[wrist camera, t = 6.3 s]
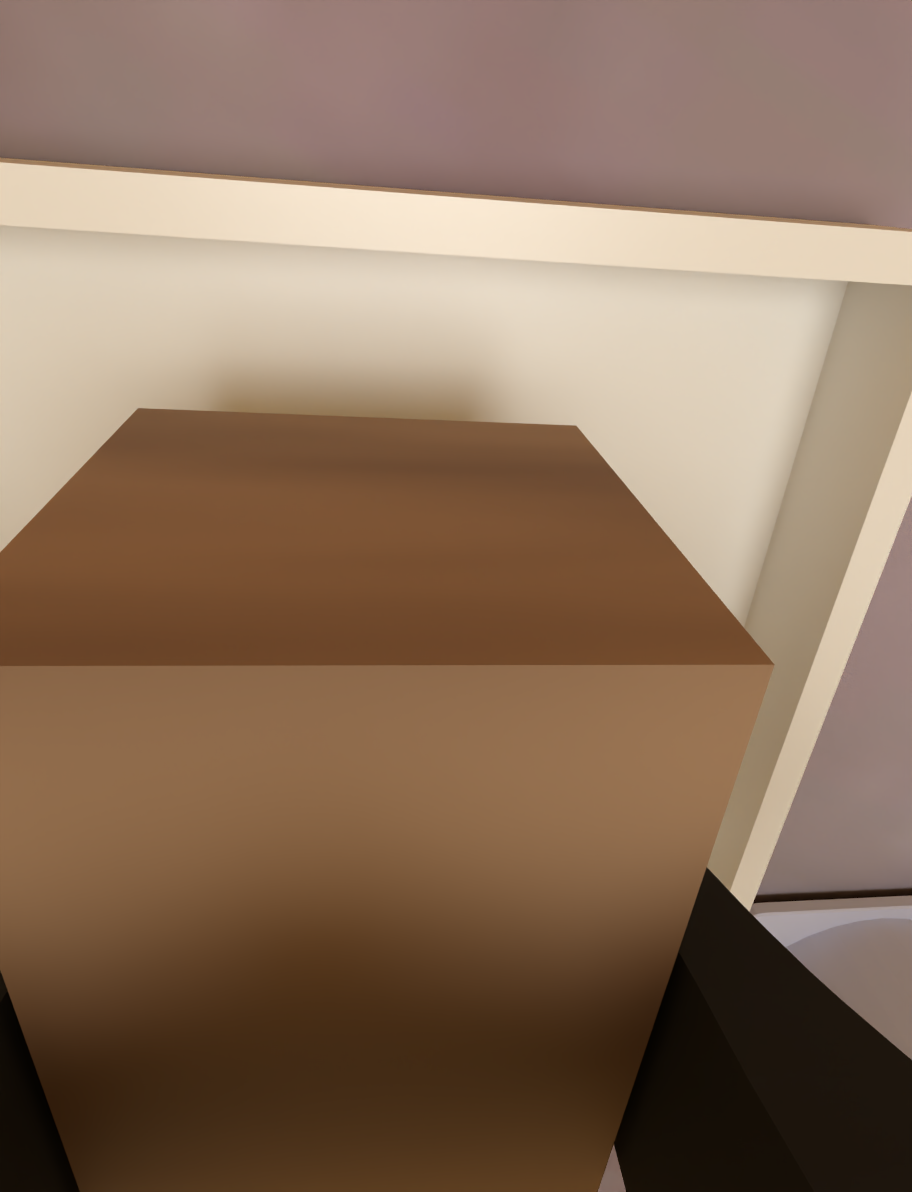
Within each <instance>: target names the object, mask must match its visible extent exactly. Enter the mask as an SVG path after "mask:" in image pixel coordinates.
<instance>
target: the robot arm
mask: <svg viewBox="0 0 912 1192" xmlns="http://www.w3.org/2000/svg"><path fill="white" fill-rule="evenodd" d="M614 1146H615V1150H616V1153H617V1157H618V1161H619V1165H620V1169H621V1173H622V1177H623V1181H624V1184H625V1189H626V1192H912V895H909V896H889V897H868V898H847V899H826V900H806V901H785V902H764V903H754V904H752V907H751V909H750V912H749V911H748V910H747V909H746V908H745V907H744V906H743V905H742V904H741V903H740V902H739V900H738V899H737V898H736V897H735V896H734V895H733V894H732V893H731V892H730V891H729V890H728V889H727V888H726V887H725V886H724V885H723V884H722V882H721V881H720V880H719V879H718V878H717V877H716V876H715V875H714V874H713V873H712V872H711V871H710V870H709V869H708V868H707V867H706V870H705V873H704V876H703V879H702V882H701V885H700V888H699V891H698V894H697V897H696V900H695V903H694V906H693V909H692V912H691V915H690V918H689V921H688V924H687V927H686V930H685V933H684V936H683V939H682V942H681V945H680V948H679V951H678V954H677V957H676V960H675V963H674V966H673V969H672V972H671V975H670V978H669V981H668V984H667V986H666V989H665V992H664V995H663V998H662V1001H661V1004H660V1007H659V1010H658V1013H657V1016H656V1019H655V1022H654V1025H653V1028H652V1031H651V1034H650V1037H649V1040H648V1043H647V1046H646V1049H645V1052H644V1055H643V1058H642V1061H641V1064H640V1067H639V1070H638V1073H637V1076H636V1079H635V1082H634V1085H633V1088H632V1091H631V1094H630V1097H629V1100H628V1103H627V1106H626V1108H625V1111H624V1114H623V1117H622V1120H621V1123H620V1126H619V1129H618V1132H617V1135H616V1138H615V1141H614ZM0 1192H80V1191H79V1188H78V1185H77V1182H76V1179H75V1177H74V1174H73V1171H72V1168H71V1166H70V1163H69V1160H68V1157H67V1154H66V1152H65V1149H64V1146H63V1143H62V1140H61V1138H60V1135H59V1132H58V1129H57V1127H56V1124H55V1121H54V1118H53V1115H52V1113H51V1110H50V1107H49V1104H48V1102H47V1099H46V1096H45V1093H44V1090H43V1088H42V1085H41V1082H40V1079H39V1076H38V1074H37V1071H36V1068H35V1065H34V1063H33V1060H32V1057H31V1054H30V1051H29V1049H28V1046H27V1043H26V1040H25V1037H24V1035H23V1032H22V1029H21V1026H20V1024H19V1021H18V1018H17V1015H16V1012H15V1010H14V1007H13V1004H12V1001H11V998H10V996H9V993H8V990H7V987H6V985H5V982H4V979H3V976H2V973H1V971H0Z"/></svg>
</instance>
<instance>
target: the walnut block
mask: <svg viewBox="0 0 912 1192" xmlns="http://www.w3.org/2000/svg"><path fill="white" fill-rule="evenodd" d="M774 665H775V664H774V663H773V662H772V661H771V660H770V658H769V657H768V656H767V655H766V654H765V652H764V651H763V650H762V649H761V648H760V646H759V645H758V644H757V643H756V642H755V640H754V639H753V638H752V637H751V636H750V634H749V633H748V632H747V631H746V630H745V628H744V627H743V626H742V625H741V624H740V622H739V621H738V620H737V619H736V617H735V616H734V615H733V614H732V613H731V611H730V610H729V609H728V608H727V607H726V605H725V604H724V603H723V602H722V601H721V599H720V598H719V597H718V596H717V595H716V593H715V592H714V591H713V590H712V589H711V587H710V586H709V585H708V584H707V583H706V581H705V580H704V579H703V578H702V576H701V575H700V574H699V573H698V572H697V570H696V569H695V568H694V567H693V566H692V564H691V563H690V562H689V561H688V560H687V558H686V557H685V556H684V555H683V554H682V552H681V551H680V550H679V549H678V548H677V546H676V545H675V544H674V543H673V542H672V540H671V539H670V538H669V537H668V536H667V534H666V533H665V532H664V531H663V529H662V528H661V527H660V526H659V525H658V523H657V522H656V521H655V520H654V519H653V517H652V516H651V515H650V514H649V513H648V511H647V510H646V509H645V508H644V507H643V505H642V504H641V503H640V502H639V501H638V499H637V498H636V497H635V496H634V495H633V493H632V492H631V491H630V490H629V488H628V487H627V486H626V485H625V484H624V482H623V481H622V480H621V479H620V478H619V476H618V475H617V474H616V473H615V472H614V470H613V469H612V468H611V467H610V466H609V464H608V463H607V462H606V461H605V460H604V458H603V457H602V456H601V455H600V454H599V452H598V451H597V450H596V449H595V448H594V446H593V445H592V444H591V443H590V441H589V440H588V439H587V438H586V437H585V435H584V434H583V433H582V432H581V431H580V429H579V428H578V427H577V426H576V425H551V424H526V423H500V422H475V421H450V420H425V419H400V418H375V417H350V416H325V415H299V414H274V413H249V412H224V411H199V410H174V409H149V408H138V409H137V410H136V411H135V412H134V413H133V414H132V415H131V416H130V417H129V418H128V419H127V420H126V421H125V422H124V423H123V424H122V425H121V426H120V427H119V429H118V430H117V431H116V432H115V433H114V434H113V435H112V436H111V437H110V438H109V439H108V440H107V441H106V442H105V443H104V444H103V445H102V446H101V447H100V448H99V449H98V450H97V452H96V453H95V454H94V455H93V456H92V457H91V458H90V459H89V460H88V461H87V462H86V463H85V464H84V465H83V466H82V467H81V468H80V469H79V470H78V471H77V472H76V473H75V475H74V476H73V477H72V478H71V479H70V480H69V481H68V482H67V483H66V484H65V485H64V486H63V487H62V488H61V489H60V490H59V491H58V492H57V493H56V494H55V495H54V497H53V498H52V499H51V500H50V501H49V502H48V503H47V504H46V505H45V506H44V507H43V508H42V509H41V510H40V511H39V512H38V513H37V514H36V515H35V516H34V517H33V518H32V520H31V521H30V522H29V523H28V524H27V525H26V526H25V527H24V528H23V529H22V530H21V531H20V532H19V533H18V534H17V535H16V536H15V537H14V538H13V539H12V540H11V541H10V543H9V544H8V545H7V546H6V547H5V548H4V549H3V550H2V551H1V552H0V971H1V973H2V976H3V979H4V982H5V985H6V987H7V990H8V993H9V996H10V998H11V1001H12V1004H13V1007H14V1010H15V1012H16V1015H17V1018H18V1021H19V1024H20V1026H21V1029H22V1032H23V1035H24V1037H25V1040H26V1043H27V1046H28V1049H29V1051H30V1054H31V1057H32V1060H33V1063H34V1065H35V1068H36V1071H37V1074H38V1076H39V1079H40V1082H41V1085H42V1088H43V1090H44V1093H45V1096H46V1099H47V1102H48V1104H49V1107H50V1110H51V1113H52V1115H53V1118H54V1121H55V1124H56V1127H57V1129H58V1132H59V1135H60V1138H61V1140H62V1143H63V1146H64V1149H65V1152H66V1154H67V1157H68V1160H69V1163H70V1166H71V1168H72V1171H73V1174H74V1177H75V1179H76V1182H77V1185H78V1188H79V1191H80V1192H598V1189H599V1186H600V1183H601V1180H602V1177H603V1174H604V1171H605V1168H606V1165H607V1162H608V1159H609V1156H610V1153H611V1150H612V1147H613V1144H614V1141H615V1138H616V1135H617V1132H618V1129H619V1126H620V1123H621V1120H622V1117H623V1114H624V1111H625V1108H626V1106H627V1103H628V1100H629V1097H630V1094H631V1091H632V1088H633V1085H634V1082H635V1079H636V1076H637V1073H638V1070H639V1067H640V1064H641V1061H642V1058H643V1055H644V1052H645V1049H646V1046H647V1043H648V1040H649V1037H650V1034H651V1031H652V1028H653V1025H654V1022H655V1019H656V1016H657V1013H658V1010H659V1007H660V1004H661V1001H662V998H663V995H664V992H665V989H666V986H667V984H668V981H669V978H670V975H671V972H672V969H673V966H674V963H675V960H676V957H677V954H678V951H679V948H680V945H681V942H682V939H683V936H684V933H685V930H686V927H687V924H688V921H689V918H690V915H691V912H692V909H693V906H694V903H695V900H696V897H697V894H698V891H699V888H700V885H701V882H702V879H703V876H704V873H705V870H706V867H707V865H708V862H709V859H710V856H711V853H712V850H713V847H714V844H715V841H716V838H717V835H718V832H719V829H720V826H721V823H722V820H723V817H724V814H725V811H726V808H727V805H728V802H729V799H730V796H731V793H732V790H733V787H734V784H735V781H736V778H737V775H738V772H739V769H740V766H741V763H742V760H743V757H744V754H745V751H746V748H747V745H748V743H749V740H750V737H751V734H752V731H753V728H754V725H755V722H756V719H757V716H758V713H759V710H760V707H761V704H762V701H763V698H764V695H765V692H766V689H767V686H768V683H769V680H770V677H771V674H772V671H773V668H774Z"/></svg>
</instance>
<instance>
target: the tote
mask: <svg viewBox="0 0 912 1192" xmlns="http://www.w3.org/2000/svg"><path fill="white" fill-rule="evenodd" d="M138 408H149V409H174V410H199V411H224V412H249V413H274V414H299V415H325V416H350V417H375V418H400V419H425V420H450V421H475V422H500V423H526V424H551V425H576V426H577V427H578V428H579V429H580V431H581V432H582V433H583V434H584V435H585V437H586V438H587V439H588V440H589V441H590V443H591V444H592V445H593V446H594V448H595V449H596V450H597V451H598V452H599V454H600V455H601V456H602V457H603V458H604V460H605V461H606V462H607V463H608V464H609V466H610V467H611V468H612V469H613V470H614V472H615V473H616V474H617V475H618V476H619V478H620V479H621V480H622V481H623V482H624V484H625V485H626V486H627V487H628V488H629V490H630V491H631V492H632V493H633V495H634V496H635V497H636V498H637V499H638V501H639V502H640V503H641V504H642V505H643V507H644V508H645V509H646V510H647V511H648V513H649V514H650V515H651V516H652V517H653V519H654V520H655V521H656V522H657V523H658V525H659V526H660V527H661V528H662V529H663V531H664V532H665V533H666V534H667V536H668V537H669V538H670V539H671V540H672V542H673V543H674V544H675V545H676V546H677V548H678V549H679V550H680V551H681V552H682V554H683V555H684V556H685V557H686V558H687V560H688V561H689V562H690V563H691V564H692V566H693V567H694V568H695V569H696V570H697V572H698V573H699V574H700V575H701V576H702V578H703V579H704V580H705V581H706V583H707V584H708V585H709V586H710V587H711V589H712V590H713V591H714V592H715V593H716V595H717V596H718V597H719V598H720V599H721V601H722V602H723V603H724V604H725V605H726V607H727V608H728V609H729V610H730V611H731V613H732V614H733V615H734V616H735V617H736V619H737V620H738V621H739V622H740V624H741V625H742V626H743V627H744V628H745V630H746V631H747V632H748V633H749V634H750V636H751V637H752V638H753V639H754V640H755V642H756V643H757V644H758V645H759V646H760V648H761V649H762V650H763V651H764V652H765V654H766V655H767V656H768V657H769V658H770V660H771V661H772V662H773V663H774V664H775V665H774V668H773V671H772V674H771V677H770V680H769V683H768V686H767V689H766V692H765V695H764V698H763V701H762V704H761V707H760V710H759V713H758V716H757V719H756V722H755V725H754V728H753V731H752V734H751V737H750V740H749V743H748V745H747V748H746V751H745V754H744V757H743V760H742V763H741V766H740V769H739V772H738V775H737V778H736V781H735V784H734V787H733V790H732V793H731V796H730V799H729V802H728V805H727V808H726V811H725V814H724V817H723V820H722V823H721V826H720V829H719V832H718V835H717V838H716V841H715V844H714V847H713V850H712V853H711V856H710V859H709V862H708V865H707V868H708V869H709V870H710V871H711V872H712V873H713V874H714V875H715V876H716V877H717V878H718V879H719V880H720V881H721V882H722V884H723V885H724V886H725V887H726V888H727V889H728V890H729V891H730V892H731V893H732V894H733V895H734V896H735V897H736V898H737V899H738V900H739V902H740V903H741V904H742V905H743V906H744V907H745V908H746V909H747V910H748V911H749V912H750V909H751V907H752V904H753V902H754V899H755V896H756V894H757V891H758V889H759V886H760V884H761V881H762V878H763V876H764V873H765V871H766V868H767V866H768V863H769V860H770V858H771V855H772V853H773V850H774V848H775V845H776V843H777V840H778V837H779V835H780V832H781V830H782V827H783V825H784V822H785V819H786V817H787V814H788V812H789V809H790V807H791V804H792V801H793V799H794V796H795V794H796V791H797V789H798V786H799V783H800V781H801V778H802V776H803V773H804V771H805V768H806V766H807V763H808V760H809V758H810V755H811V753H812V750H813V748H814V745H815V742H816V740H817V737H818V735H819V732H820V730H821V727H822V724H823V722H824V719H825V717H826V714H827V712H828V709H829V707H830V704H831V701H832V699H833V696H834V694H835V691H836V689H837V686H838V683H839V681H840V678H841V676H842V673H843V671H844V668H845V665H846V663H847V660H848V658H849V655H850V653H851V650H852V648H853V645H854V642H855V640H856V637H857V635H858V632H859V630H860V627H861V624H862V622H863V619H864V617H865V614H866V612H867V609H868V606H869V604H870V601H871V599H872V596H873V594H874V591H875V589H876V586H877V583H878V581H879V578H880V576H881V573H882V571H883V568H884V565H885V563H886V560H887V558H888V555H889V553H890V550H891V547H892V545H893V542H894V540H895V537H896V535H897V532H898V530H899V527H900V524H901V522H902V519H903V517H904V514H905V512H906V509H907V506H908V504H909V501H910V499H911V496H912V229H906V228H897V227H887V226H878V225H867V224H855V223H842V222H829V221H816V220H803V219H790V218H777V217H764V216H751V215H738V214H725V213H712V212H699V211H686V210H673V209H660V208H647V207H634V206H621V205H608V204H595V203H582V202H569V201H556V200H543V199H530V198H517V197H504V196H491V195H478V194H465V193H452V192H439V191H426V190H413V189H400V188H387V187H374V186H361V185H348V184H335V183H322V182H309V181H296V180H283V179H271V178H258V177H245V176H232V175H219V174H206V173H193V172H180V171H167V170H154V169H141V168H128V167H115V166H102V165H89V164H76V163H63V162H50V161H37V160H24V159H11V158H0V552H1V551H2V550H3V549H4V548H5V547H6V546H7V545H8V544H9V543H10V541H11V540H12V539H13V538H14V537H15V536H16V535H17V534H18V533H19V532H20V531H21V530H22V529H23V528H24V527H25V526H26V525H27V524H28V523H29V522H30V521H31V520H32V518H33V517H34V516H35V515H36V514H37V513H38V512H39V511H40V510H41V509H42V508H43V507H44V506H45V505H46V504H47V503H48V502H49V501H50V500H51V499H52V498H53V497H54V495H55V494H56V493H57V492H58V491H59V490H60V489H61V488H62V487H63V486H64V485H65V484H66V483H67V482H68V481H69V480H70V479H71V478H72V477H73V476H74V475H75V473H76V472H77V471H78V470H79V469H80V468H81V467H82V466H83V465H84V464H85V463H86V462H87V461H88V460H89V459H90V458H91V457H92V456H93V455H94V454H95V453H96V452H97V450H98V449H99V448H100V447H101V446H102V445H103V444H104V443H105V442H106V441H107V440H108V439H109V438H110V437H111V436H112V435H113V434H114V433H115V432H116V431H117V430H118V429H119V427H120V426H121V425H122V424H123V423H124V422H125V421H126V420H127V419H128V418H129V417H130V416H131V415H132V414H133V413H134V412H135V411H136V410H137V409H138Z"/></svg>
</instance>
